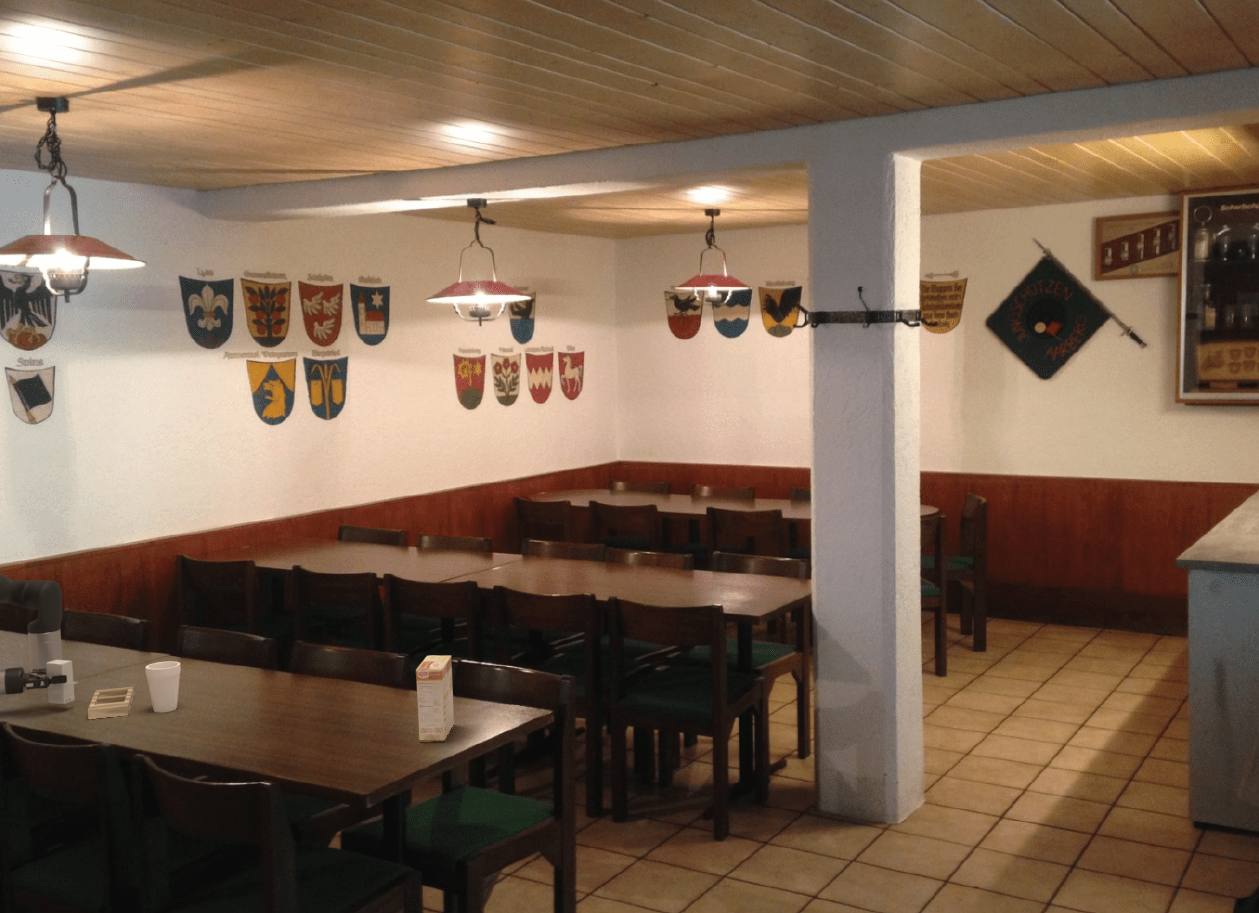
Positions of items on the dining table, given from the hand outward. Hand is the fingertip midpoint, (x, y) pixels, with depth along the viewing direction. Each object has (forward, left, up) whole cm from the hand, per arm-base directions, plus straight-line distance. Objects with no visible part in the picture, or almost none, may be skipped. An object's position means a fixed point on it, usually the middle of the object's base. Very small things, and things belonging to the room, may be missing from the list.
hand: (68, 675), depth 352 cm
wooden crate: (+4, +12, -10) cm, 16 cm away
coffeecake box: (+67, +97, -10) cm, 118 cm away
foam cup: (+12, +27, -10) cm, 31 cm away
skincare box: (0, -2, -8) cm, 8 cm away
